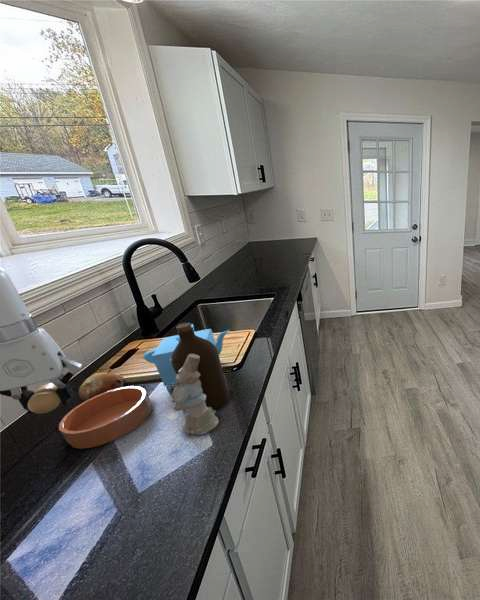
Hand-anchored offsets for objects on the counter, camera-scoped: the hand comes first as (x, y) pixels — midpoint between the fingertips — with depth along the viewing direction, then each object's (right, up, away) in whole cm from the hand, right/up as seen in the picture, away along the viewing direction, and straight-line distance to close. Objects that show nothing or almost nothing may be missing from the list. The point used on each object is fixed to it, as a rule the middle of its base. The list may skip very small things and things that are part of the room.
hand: (52, 404), depth 67 cm
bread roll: (-18, -6, +31) cm, 36 cm away
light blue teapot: (+8, -2, +37) cm, 38 cm away
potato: (0, 0, 0) cm, 0 cm away
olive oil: (+21, -7, +23) cm, 32 cm away
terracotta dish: (-3, -11, +18) cm, 21 cm away
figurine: (+23, -10, +15) cm, 29 cm away
